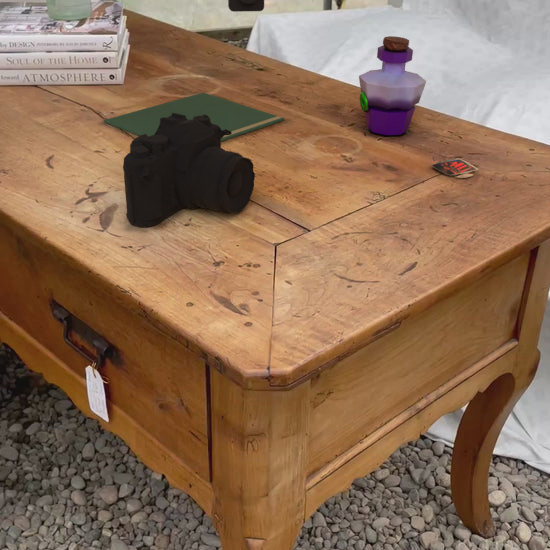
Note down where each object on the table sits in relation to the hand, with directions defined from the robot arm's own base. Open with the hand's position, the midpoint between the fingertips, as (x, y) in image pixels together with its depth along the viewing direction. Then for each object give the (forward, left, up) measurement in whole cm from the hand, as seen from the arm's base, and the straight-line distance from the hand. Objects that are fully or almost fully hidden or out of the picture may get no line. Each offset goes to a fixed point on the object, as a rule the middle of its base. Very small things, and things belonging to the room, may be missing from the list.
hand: (236, 0), depth 74 cm
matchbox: (+23, -14, -20) cm, 33 cm away
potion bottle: (+29, 0, -20) cm, 35 cm away
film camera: (-5, 0, -20) cm, 21 cm away
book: (+13, +20, -20) cm, 31 cm away
